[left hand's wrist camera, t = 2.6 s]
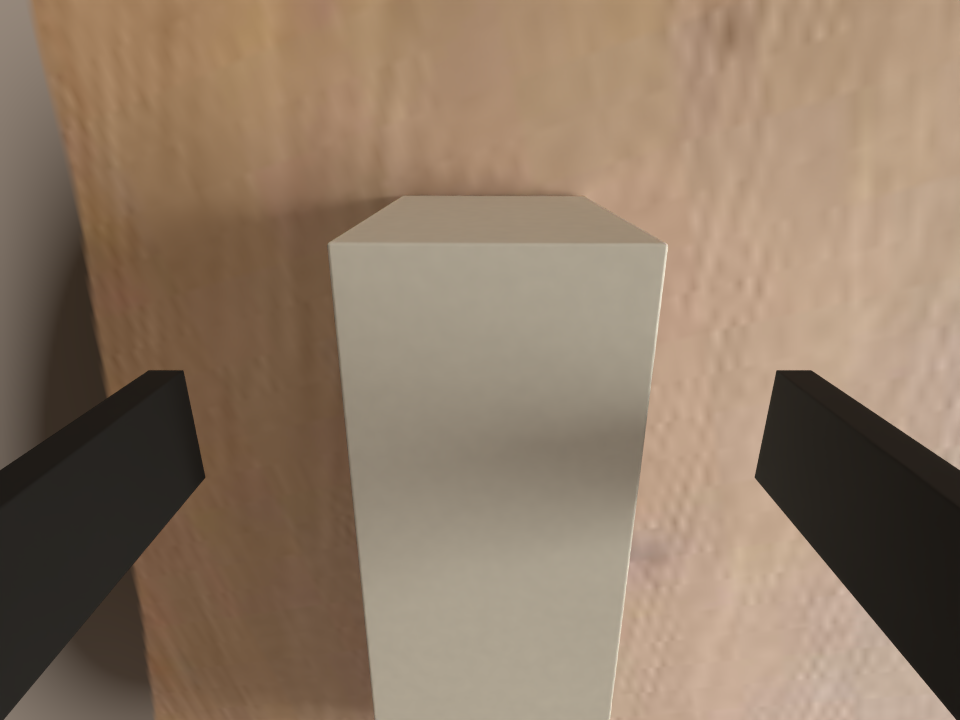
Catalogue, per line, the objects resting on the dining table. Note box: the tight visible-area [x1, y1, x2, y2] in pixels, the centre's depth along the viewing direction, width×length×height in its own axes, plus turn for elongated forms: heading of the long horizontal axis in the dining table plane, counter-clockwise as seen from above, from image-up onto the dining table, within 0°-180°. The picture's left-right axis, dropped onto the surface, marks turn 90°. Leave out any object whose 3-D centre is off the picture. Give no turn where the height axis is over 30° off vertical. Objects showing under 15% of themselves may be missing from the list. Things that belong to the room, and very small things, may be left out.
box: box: [327, 196, 668, 720], centre depth 18 cm, size 24×6×9 cm, turn 0°
